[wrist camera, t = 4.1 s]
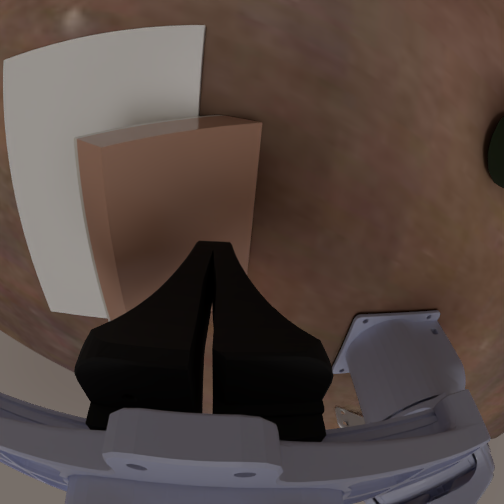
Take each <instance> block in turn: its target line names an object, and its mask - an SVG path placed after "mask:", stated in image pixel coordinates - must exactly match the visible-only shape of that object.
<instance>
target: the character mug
mask: <svg viewBox="0 0 504 504" xmlns="http://www.w3.org/2000/svg"><path fill="white" fill-rule="evenodd" d="M488 170H489V173H490V175H491V177H492V179H493V181H494V183H496V184H497V185H499V186H501V187H502V188H504V117H503V118H502V119H501V120H500V121H499V123H498V125H497V127H496V129H495V131H494V133H493V135H492V139H491V143H490V147H489V151H488Z"/></svg>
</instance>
